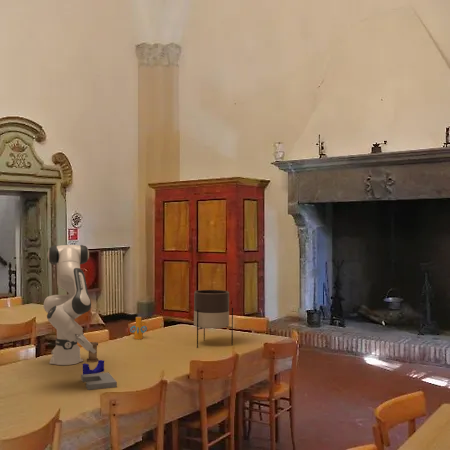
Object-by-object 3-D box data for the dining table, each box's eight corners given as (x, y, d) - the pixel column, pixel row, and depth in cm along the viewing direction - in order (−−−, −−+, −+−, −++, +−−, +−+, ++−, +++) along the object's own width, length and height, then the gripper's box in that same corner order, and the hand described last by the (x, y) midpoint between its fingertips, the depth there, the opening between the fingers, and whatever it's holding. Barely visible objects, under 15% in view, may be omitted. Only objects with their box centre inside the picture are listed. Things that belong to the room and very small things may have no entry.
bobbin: (86, 360, 297) (86, 342, 297) (97, 359, 299) (97, 341, 299) (87, 362, 292) (88, 344, 292) (99, 361, 294) (99, 343, 294)
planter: (216, 350, 375) (217, 295, 375) (184, 346, 388) (184, 292, 388) (237, 343, 398) (237, 291, 397) (206, 339, 411) (206, 288, 410)
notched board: (81, 379, 303) (81, 374, 303) (108, 377, 309) (108, 372, 309) (87, 389, 285) (87, 384, 285) (116, 387, 290) (116, 382, 290)
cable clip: (88, 376, 310) (88, 365, 310) (82, 375, 313) (82, 363, 313) (105, 372, 320) (105, 361, 320) (100, 370, 322) (100, 359, 322)
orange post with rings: (150, 338, 413) (150, 316, 413) (140, 340, 404) (140, 318, 404) (136, 336, 419) (136, 315, 419) (126, 338, 411) (127, 317, 410)
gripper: (82, 331, 283) (102, 350, 287) (75, 324, 302) (94, 342, 306) (72, 341, 282) (93, 360, 285) (66, 334, 300) (86, 351, 304)
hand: (94, 351), depth 296 cm, fingers closed on bobbin, 4 cm apart
